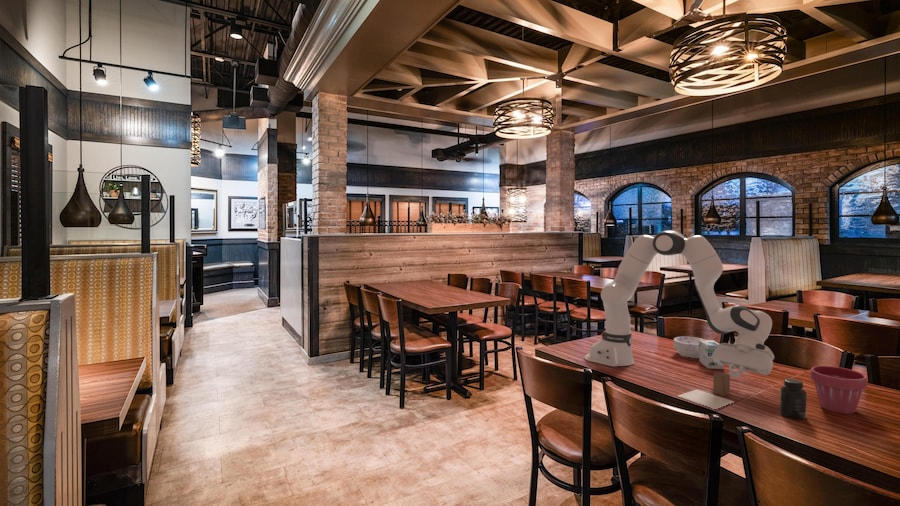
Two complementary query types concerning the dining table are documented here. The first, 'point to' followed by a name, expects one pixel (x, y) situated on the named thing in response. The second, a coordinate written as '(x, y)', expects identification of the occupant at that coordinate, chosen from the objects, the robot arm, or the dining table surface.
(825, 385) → the plant pot
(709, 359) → the light bulb box
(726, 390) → the wooden block
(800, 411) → the supplement bottle
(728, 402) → the plate
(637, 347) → the dining table surface
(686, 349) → the paper bowls
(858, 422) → the dining table surface
